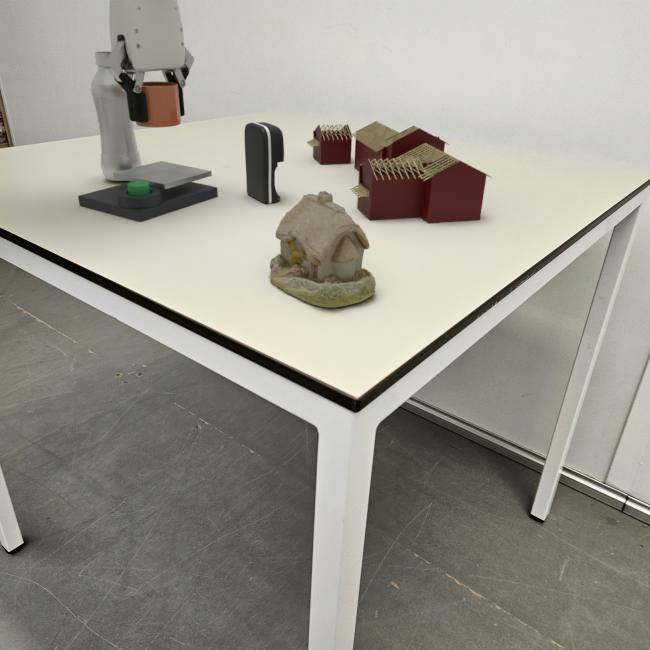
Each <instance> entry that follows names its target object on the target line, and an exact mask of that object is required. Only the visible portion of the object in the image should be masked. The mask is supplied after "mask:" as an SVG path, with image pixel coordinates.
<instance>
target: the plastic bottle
mask: <svg viewBox="0 0 650 650" xmlns="http://www.w3.org/2000/svg"><path fill="white" fill-rule="evenodd" d="M111 52H112V51H94V58H95V61H94V63H95V64H94V65H95V66H97V71H96V72H95V74H94V76H93V78H92V81H91V83H90V93H91V97H92V101H93V104H94V108H95V112H96V116H97V122H98V124H99V125H98V126H99V127H98V129H99V133H100V151H101V153H100V169H101V172H102V175H103V176H104V177H105V179H107V180H109V181H113V182H114V181H115V182H127V181H126V180H121V179H117V178H114V177H113V173H114V172H118V171H122V170H126V169H130V168H134V167H139V166H143V163H142V158H141V154H140V152H139V149H138V144H137V137H136V133H135V125H134V121H131V120H130V117H129V110H128V102H127V94H126V92H124V91H123V90H122V89H121V86H120V85H119V84H118V83H117V82H116V81H115V79H114V77H113V76H112V75H111V74H110V73H109V72H108V70H107V69H106V68H105V66H104V64H105V62H106V60H107V58H108V57H109V55H110V54H111Z"/></svg>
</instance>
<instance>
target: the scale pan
mask: <svg viewBox="0 0 650 650" xmlns="http://www.w3.org/2000/svg"><path fill="white" fill-rule="evenodd" d="M212 176H213V172H212V170H209V169H203V168H199V167H198V168H197V167H193V166H189V165H183V164H178V163H173V162H168V161H162V160H159V161H155V162H151V163H147V164H142V166H139V167H134V168H130V169H126V170H122V171H118V172H114V173H113V177H114V178H117V179H121V180H126V181H125V182H134V181H145V182H149V185H150V186H152V187H156V188H161V189H168V188H172V187H175V186H179V185H182V184H186V183H189V182H196V181H199V180H203V179H206V178H210V177H212Z"/></svg>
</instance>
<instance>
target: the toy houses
mask: <svg viewBox="0 0 650 650" xmlns="http://www.w3.org/2000/svg"><path fill="white" fill-rule="evenodd" d="M312 132H313V133H312V138H311V139H310V140H308V141H306V144H308V146H310V147H311V148H312V158H313V159H314V160H315V161H316V162H318V164H320V165H338V164H339V165H343V164H347V165H348V164H352V145H353V144H352V142H353V138H355V146H354V164H353V165H354V166H353V167H354V169H355V170H357V171H358V182H357V183H358V184H357V185H355V186H353V187H352V188H350V189H349V190H350V191H351V192H352V193H353V194H354V196H356V197H357V203H356V204H357V205H356V208H357V210H359V212H360V213H362V215H364V217H366V218H367V219H368V220H369V221H378V220H382V221H383V220H397V219H416V218H417V219H418V218H420V219H422V220H423V221H424V222H426V223H427V224H433V223H449V222H451V223H452V222H464V221H465V222H466V221H480V220H481V214H482V210H483V209H482V208H483V203H484V202H483V201H484V195H485V188H486V182H487V177H488V178H489V179H492V178H493V176H491V175H489V174H488V173H485V172H484V171H481V170H480V169H477V168H475V167H474V166H471V165H470V164H468V163H466V162H465V161H463V160H460V159H458V158H456V157H454V156H452V155H451V154H448V153H447V152H445V145H447V146H451V145H450V143H448V142H446V141H445V140H442V139H441V138H440V136H437V135H436V136H435V135H434V134H431V133H429V132H427V131H426V130H424V129H422V128H420V127H418V126H416V125H412V126H410V127H408V128H406V129H404V130H402V131H399V132H398V131H397V130H396V129H393V128H391V127H389V126H387V125H385V124H383V123H382V122H379V121H377V120H375V121H374V122H371V123H369V124H368V125H366V126H364V127H362V128H360V129H357V130H356V131H355V132H354V133H352V132H351V129H350V126H349V124H348V123H345V124H342V123H341V124H340V123H339V124H335V125H334V124H333V123H332V124H331V125H330V124H322V126H321V125H320V124H318V125H317V126H316V127H315V129H313V131H312Z"/></svg>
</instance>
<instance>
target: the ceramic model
mask: <svg viewBox="0 0 650 650" xmlns="http://www.w3.org/2000/svg"><path fill="white" fill-rule="evenodd" d="M333 197H334V196H333V194H332V192H327V190H322V191H321V190H320V191H319V192H318V193H317V194H314V193H307V194H303V196H302V198H301V199H300V200H299V202H298V203H296V204H295V205H294V206H293V207H292V208H291V209H289V211H286V212H285V214H284V216H283V217H282V218H281V220H280V221H279V224H278V226H277V228H276V231H275V238H276V239H277V240H279V241H280V242H279V244H280V245H279V246H280V253H278V254H277V255H275V256H274V257H272V258H271V259H270V264H269V269H270V275H269V279H270V282H271V284H272V285H273V286H275V287H277V288H278V289H280V290H282V291H284V292H285V293H287V294H289V295H291V296H293V297H295V298H297V299H299V300H301V301H303V302H306V303H308V304H310V305H313V306H317V307H321V308H332V309H333V308H338V307H339V308H340V307H346V306H349V305H355V304H359V303H361V302H363V301H365V300H367V299H369V298H370V297H372V296H373V295H374V294H375V292H376V291H375V289H376V285H377V282H376V278H375V276H373V274H372V273H371V271H369V270H367V269H366V268H365V267H363V259H364V252H365V250H369V248H370V243H369V240H368V237H367V235H366V232H365V231H364V230H363V229H362V228H361V226H360V224H359V223H356V221H355V220H354V219H353V218H352V217H351V215H350V214H349V213H348V212H347V211H346V208H345V207H343V206H341V205H340V204H338V203H336V202H334V198H333Z"/></svg>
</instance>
